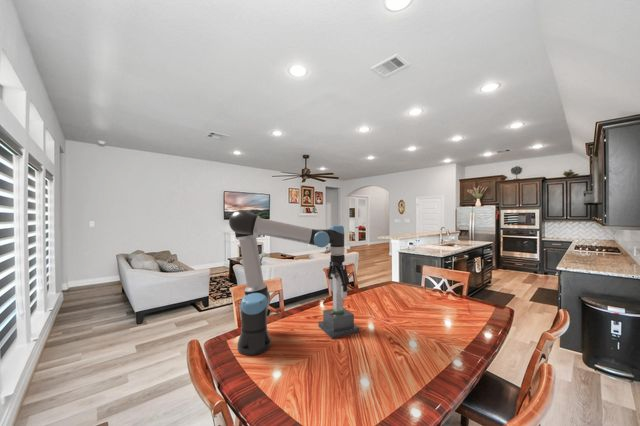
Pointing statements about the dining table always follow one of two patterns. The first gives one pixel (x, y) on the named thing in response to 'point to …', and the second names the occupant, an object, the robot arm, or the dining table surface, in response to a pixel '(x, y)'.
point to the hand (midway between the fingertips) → (337, 294)
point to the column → (337, 294)
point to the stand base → (338, 323)
